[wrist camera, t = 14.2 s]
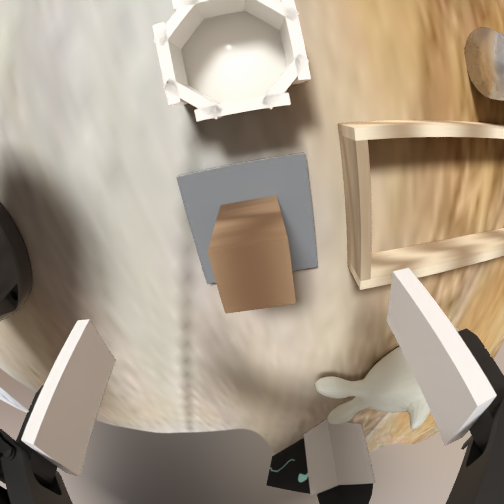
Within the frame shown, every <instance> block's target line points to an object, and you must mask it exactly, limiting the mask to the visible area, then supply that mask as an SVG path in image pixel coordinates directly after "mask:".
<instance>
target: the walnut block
mask: <svg viewBox="0 0 504 504" xmlns="http://www.w3.org/2000/svg"><path fill="white" fill-rule="evenodd" d="M208 256H209V259H210V263H211V266H212V270H213V273H214V277H215V280H216V284H217V287H218V290H219V294H220V297H221V300H222V304H223V307H224V310H225V313H233V312H240V311H248V310H255V309H262V308H269V307H275V306H282V305H288V304H295V303H296V298H295V290H294V281H293V273H292V266H291V258H290V250H289V243H288V237H287V233H286V229H285V226H284V222H283V218H282V214H281V210H280V207H279V203H278V199H277V195H276V196H270V197H264V198H258V199H252V200H246V201H240V202H234V203H229V204H223V205H220V209H219V212H218V216H217V219H216V223H215V226H214V230H213V233H212V237H211V241H210V244H209V248H208Z"/></svg>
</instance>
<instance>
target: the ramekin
mask: <svg viewBox="0 0 504 504" xmlns="http://www.w3.org/2000/svg"><path fill="white" fill-rule="evenodd" d="M172 3H173V8H174V10H175V11H176V12H175V13H174V14H173V15H172V17H171V18H170V19H169V21H168V22H167V23H165V22H162V23H159V24H156V25H153V31H154V36H155V40H154V41H153V42H155V43H156V47H157V52H158V57H159V62H160V67H161V72H162V77H163V82H164V87H163V89H165V91H166V96H167V101H168V105H186V104H191V105H193V106H195V107H196V108H198V109H196V110H194V112H195V116H196V121H197V122H198V121H202V120H206V119H211V118H215V119H219V118H221V117H223V116H225V115H230V114H235V113H240V112H246V111H251V110H257V109H263V108H267V109H272V108H273V107H277V106H284V105H291V103H290V97H289V93H285V91H286V90H287V89H288V87H289V86H290V85H294V84H300V83H303V82H305V81H307V80H310V79H311V76H310V71H309V66H308V62H309V60H308V59H307V55H306V51H305V46H304V41H303V36H302V32H301V27H300V23H299V19H298V15H299V13H298V12H297V11H296V7H295V3H294V0H280V1H278V0H172Z"/></svg>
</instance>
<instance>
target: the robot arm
mask: <svg viewBox="0 0 504 504" xmlns="http://www.w3.org/2000/svg"><path fill="white" fill-rule="evenodd" d="M31 286H32V274H31V267H30V262H29V258H28V254H27V251H26V248H25V245H24V243H23V240H22V238H21V236H20V234H19V232H18V229H17V228H16V226H15V224H14V222H13V220H12V219H11V217H10V216H9V214H8V213H7V211H6V210H5V209H4V208H3V206H2V205H1V204H0V321H1V320H3V319H5V318H7V317H9V316H10V315H12V314H14V313H15V312H16V311H17V310H18V309H19V308H20V307H21V306H22V304H23V303H24V302H25V301H26V300H27V298H28V297H29V294H30V291H31ZM387 323H388V325H389V327H390V329H391V330H392V332H393V334H394V336H395V338H396V340H397V342H398V344H399V346H400V348H401V350H402V352H403V354H404V356H405V358H406V360H407V362H408V364H409V366H410V368H411V370H412V372H413V374H414V376H415V378H416V380H417V382H418V384H419V387H420V389H421V391H422V393H423V395H424V397H425V400H426V402H427V404H428V406H429V409H430V411H431V413H432V416H433V418H434V420H435V423H436V425H437V427H438V430H439V432H440V434H441V437H442V440H443V442H444V445H445V446H446V445H448V444H449V443H452V442H454V441H456V440H458V439H460V438H462V437H463V436H464V435H465V434H466V433H467V432H468V430H470V432H471V434H472V436H471V437H470V438H469V439H468V440H467V441H466V442H465V443H464V444H463V446H462V448H461V449H464V448H465V447H467V446H468V447H467V450H466V453H465V456H464V459H463V462H462V465H461V468H460V471H459V473H458V476H457V479H456V481H455V483H454V486H453V488H452V491H451V493H450V495H449V498H448V500H447V502H446V504H504V375H503V374H502V373H501V371H500V369H499V368H498V366H497V364H496V363H495V361H494V360H493V358H492V357H490V354H489V352H488V351H487V349H485V348H484V347H485V346H484V345H483V344H482V342H481V341H480V339H479V338H478V336H476V335H475V334H474V333H472V332H471V331H469V330H468V329H467V328H466V329H464V330H461V331H459V332H457V331H456V329H455V328H454V327H453V325H452V324H451V322H450V321H449V320H448V318H447V317H446V315H445V314H444V313H443V311H442V310H441V309H440V307H439V306H438V304H437V303H436V302H435V300H434V299H433V298H432V297H431V295H430V294H429V293H428V291H427V290H426V289H425V287H424V286H423V285H422V284H421V282H420V281H419V280H418V279H417V277H416V276H415V275H414V274H413V272H412V271H411V270H410V269H409V268H405V269H401V270H396V271H393V274H392V284H391V292H390V300H389V308H388V315H387ZM115 361H116V359H115V358H114V356H113V355H112V353H111V352H110V351H109V349H108V347H107V346H106V344H105V343H104V341H103V340H102V338H101V337H100V335H99V334H98V332H97V330H96V329H95V327H94V325H93V324H92V322H91V320H90V319H87V320H78V321H77V322H76V324H75V326H74V328H73V330H72V331H71V333H70V335H69V337H68V339H67V340H66V342H65V344H64V346H63V348H62V350H61V352H60V354H59V356H58V358H57V359H56V361H55V363H54V365H53V367H52V369H51V371H50V374H49V376H48V378H47V380H46V382H45V384H44V385H43V386H42V387H41V388H40V389H39V390H38V392H37V393H36V395H35V397H34V399H33V402H32V405H31V406H30V408H29V412H28V413H27V415H26V418H25V420H24V422H23V425H22V428H21V430H20V433H19V435H18V438H17V440H16V441H15V440H14V439H12V438H11V437H10V436H9V435H8V434H6V433H5V432H4V431H3V430H2V429H0V481H2V482H3V483H5V484H6V487H7V490H6V489H4V488H3V487H1V486H0V504H72V501H71V499H70V497H69V495H68V492H67V490H66V487H65V485H64V482H63V480H62V477H61V475H60V474H59V472H57V471H56V470H57V467H59V468H60V469H62V470H63V471H65V472H66V473H69V474H73V475H76V476H80V474H81V470H82V466H83V462H84V459H85V455H86V450H87V448H88V444H89V440H90V437H91V433H92V430H93V427H94V423H95V420H96V417H97V414H98V410H99V407H100V404H101V401H102V398H103V395H104V392H105V389H106V386H107V383H108V380H109V377H110V375H111V372H112V369H113V366H114V363H115Z"/></svg>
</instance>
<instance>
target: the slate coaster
mask: <svg viewBox="0 0 504 504" xmlns="http://www.w3.org/2000/svg"><path fill="white" fill-rule="evenodd" d="M177 181H178V185H179V188H180V192H181V196H182V199H183V203H184V207H185V210H186V214H187V218H188V221H189V225H190V228H191V232H192V235H193V238H194V242H195V245H196V249H197V252H198V255H199V259H200V262H201V265H202V268H203V272H204V275H205V278H206V281H207V284H210V283H216V280H215V277H214V273H213V270H212V266H211V263H210V259H209V256H208V248H209V244H210V241H211V237H212V233H213V230H214V226H215V223H216V219H217V216H218V212H219V209H220V205H223V204H229V203H234V202H240V201H246V200H252V199H258V198H264V197H270V196H276V195H277V199H278V203H279V207H280V210H281V214H282V218H283V222H284V226H285V229H286V233H287V237H288V243H289V250H290V258H291V266H292V271H295V270H301V269H307V268H313V267H318V266H317V254H316V242H315V231H314V221H313V212H312V202H311V194H310V185H309V177H308V169H307V162H306V154H305V153H304V152H303V153H296V154H289V155H282V156H276V157H270V158H263V159H257V160H252V161H246V162H241V163H235V164H230V165H225V166H220V167H215V168H210V169H205V170H201V171H196V172H191V173H187V174H183V175H179V176H178V177H177Z"/></svg>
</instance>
